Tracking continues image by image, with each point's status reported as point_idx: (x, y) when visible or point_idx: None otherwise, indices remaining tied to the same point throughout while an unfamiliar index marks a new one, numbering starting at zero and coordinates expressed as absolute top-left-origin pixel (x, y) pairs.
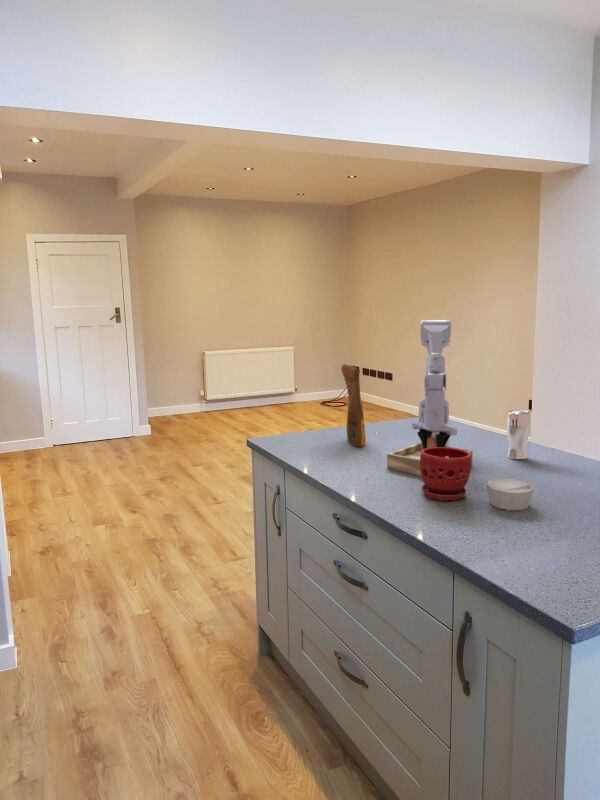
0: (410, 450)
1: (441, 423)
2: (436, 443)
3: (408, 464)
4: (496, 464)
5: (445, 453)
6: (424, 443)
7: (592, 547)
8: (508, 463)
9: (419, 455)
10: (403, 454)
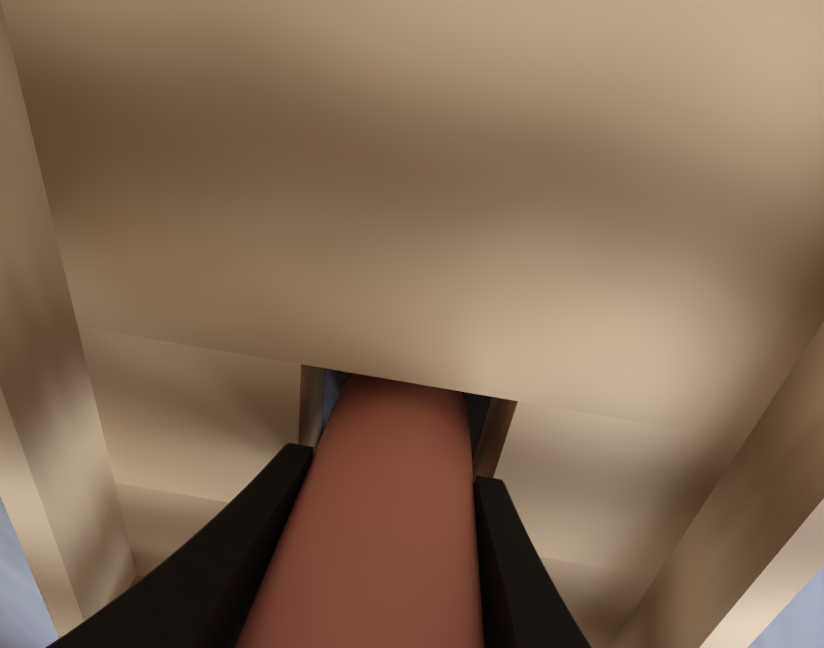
0: (727, 535)
1: None
2: (248, 632)
3: None
4: None
5: None
6: (523, 624)
7: None
8: (26, 615)
9: (572, 469)
10: (808, 384)
